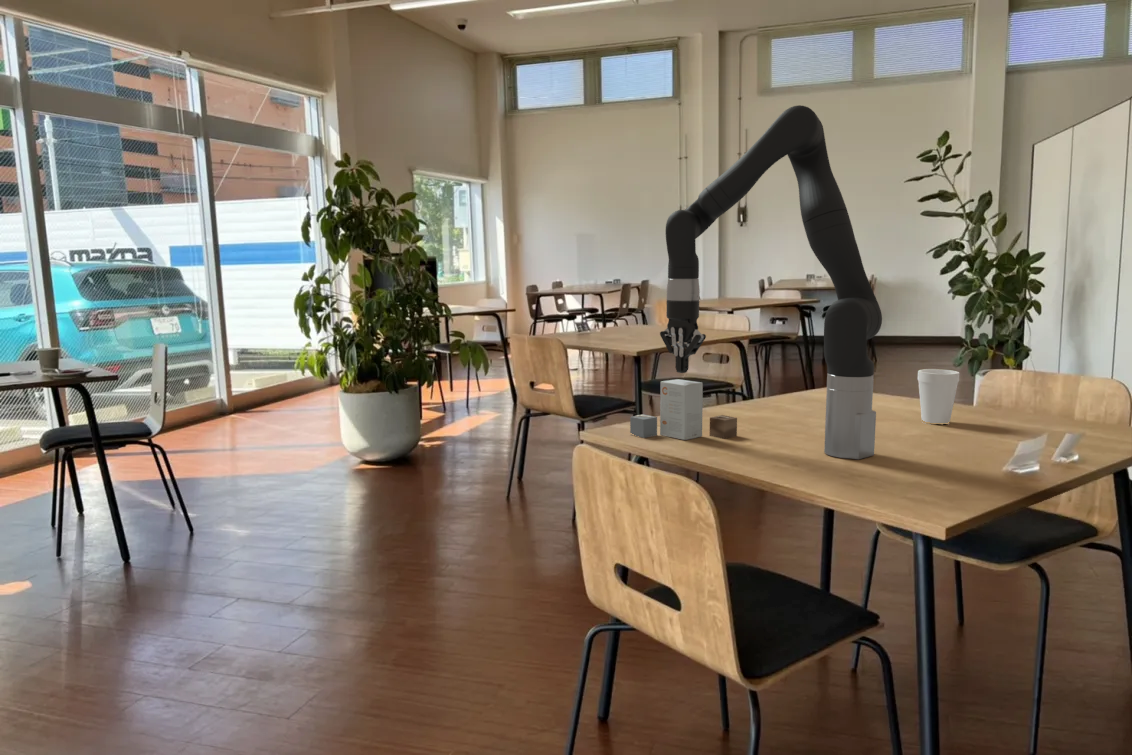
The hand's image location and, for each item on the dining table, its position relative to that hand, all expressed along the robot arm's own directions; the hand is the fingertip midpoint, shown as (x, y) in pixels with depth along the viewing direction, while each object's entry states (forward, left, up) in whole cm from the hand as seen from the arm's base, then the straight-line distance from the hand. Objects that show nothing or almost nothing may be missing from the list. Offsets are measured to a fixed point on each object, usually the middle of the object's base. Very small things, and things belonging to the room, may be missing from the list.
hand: (681, 372), depth 189 cm
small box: (0, 0, -15) cm, 15 cm away
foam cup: (-32, -59, -15) cm, 69 cm away
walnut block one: (-7, -7, -15) cm, 18 cm away
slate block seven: (+6, +6, -15) cm, 18 cm away
